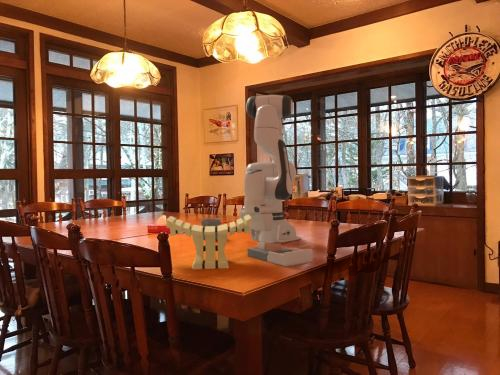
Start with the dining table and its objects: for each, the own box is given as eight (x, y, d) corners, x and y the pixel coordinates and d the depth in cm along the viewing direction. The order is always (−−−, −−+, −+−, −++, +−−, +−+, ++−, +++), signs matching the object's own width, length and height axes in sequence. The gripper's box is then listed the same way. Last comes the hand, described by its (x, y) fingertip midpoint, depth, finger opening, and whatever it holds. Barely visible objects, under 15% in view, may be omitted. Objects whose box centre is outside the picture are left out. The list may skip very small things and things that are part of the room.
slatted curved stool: (248, 258, 162) (248, 213, 161) (252, 267, 146) (251, 217, 145) (172, 260, 159) (171, 215, 159) (167, 270, 144) (166, 219, 143)
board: (273, 252, 173) (273, 245, 173) (292, 257, 162) (292, 249, 162) (247, 255, 166) (247, 248, 166) (266, 261, 155) (266, 253, 155)
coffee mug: (217, 240, 205) (217, 220, 205) (199, 240, 207) (198, 220, 207) (224, 236, 219) (224, 217, 218) (206, 235, 220) (206, 217, 220)
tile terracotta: (274, 248, 165) (274, 242, 165) (281, 250, 161) (281, 244, 161) (265, 249, 163) (265, 243, 163) (272, 251, 159) (272, 245, 159)
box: (293, 257, 162) (293, 244, 162) (312, 262, 153) (312, 248, 153) (267, 261, 155) (267, 248, 155) (285, 267, 146) (285, 253, 146)
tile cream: (266, 246, 170) (266, 240, 170) (273, 248, 166) (273, 242, 166) (257, 247, 167) (257, 241, 167) (264, 249, 163) (264, 243, 163)
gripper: (235, 206, 179) (235, 238, 179) (263, 209, 162) (263, 243, 162) (246, 206, 183) (247, 236, 183) (275, 208, 166) (276, 242, 166)
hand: (255, 240), depth 172 cm, fingers closed
